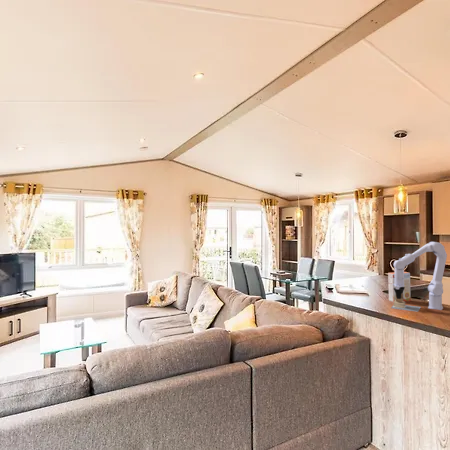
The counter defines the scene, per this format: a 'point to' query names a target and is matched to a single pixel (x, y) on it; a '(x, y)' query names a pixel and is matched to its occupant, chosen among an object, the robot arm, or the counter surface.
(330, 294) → the counter surface
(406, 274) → the cracker box
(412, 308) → the building mat
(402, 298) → the walnut block
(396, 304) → the beech slab
